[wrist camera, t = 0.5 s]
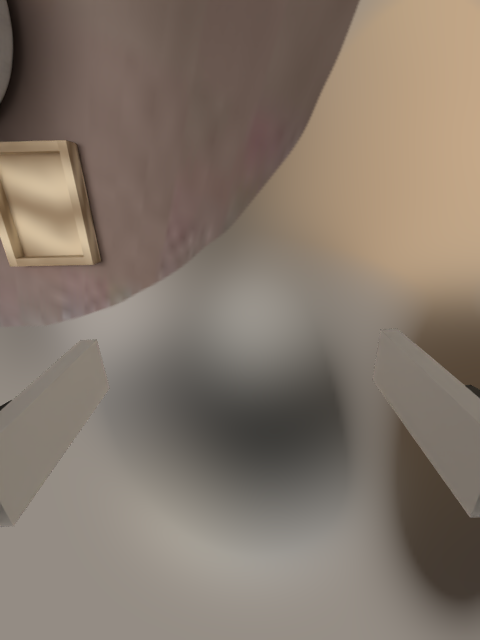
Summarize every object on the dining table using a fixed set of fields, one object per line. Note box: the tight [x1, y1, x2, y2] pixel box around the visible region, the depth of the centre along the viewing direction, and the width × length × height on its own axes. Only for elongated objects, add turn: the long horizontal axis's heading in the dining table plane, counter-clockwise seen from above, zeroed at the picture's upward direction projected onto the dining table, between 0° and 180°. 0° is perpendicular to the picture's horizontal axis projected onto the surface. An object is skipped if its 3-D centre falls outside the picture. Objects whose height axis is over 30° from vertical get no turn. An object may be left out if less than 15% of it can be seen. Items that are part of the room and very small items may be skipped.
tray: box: [0, 140, 101, 267], centre depth 36 cm, size 14×11×2 cm
